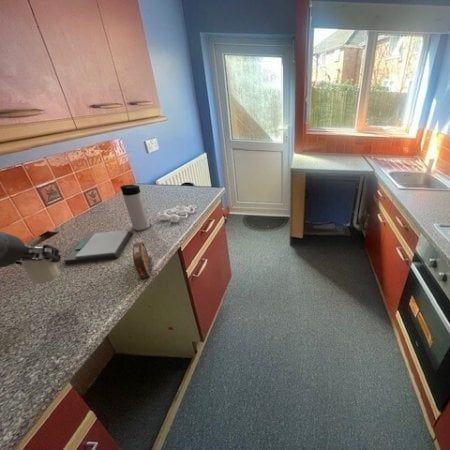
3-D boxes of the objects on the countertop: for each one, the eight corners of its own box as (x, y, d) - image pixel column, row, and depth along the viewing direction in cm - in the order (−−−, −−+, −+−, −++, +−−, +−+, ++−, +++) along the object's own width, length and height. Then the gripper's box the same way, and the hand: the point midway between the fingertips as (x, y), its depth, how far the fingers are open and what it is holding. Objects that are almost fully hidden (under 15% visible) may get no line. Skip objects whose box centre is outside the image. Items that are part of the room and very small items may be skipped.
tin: (150, 281, 80) (144, 259, 76) (139, 284, 78) (132, 262, 74) (149, 256, 91) (143, 237, 87) (139, 259, 90) (132, 239, 86)
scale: (66, 265, 85) (63, 259, 83) (89, 238, 100) (87, 232, 98) (117, 259, 89) (114, 253, 87) (132, 235, 104) (130, 229, 102)
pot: (27, 285, 65) (11, 260, 61) (40, 271, 70) (27, 247, 66) (53, 281, 66) (40, 257, 63) (64, 268, 71) (53, 245, 67)
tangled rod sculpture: (181, 207, 132) (179, 199, 131) (204, 209, 129) (203, 201, 127) (152, 221, 116) (150, 213, 114) (177, 224, 112) (175, 216, 110)
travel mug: (129, 230, 107) (115, 186, 97) (142, 224, 112) (130, 181, 103) (141, 233, 105) (127, 188, 96) (153, 226, 111) (142, 183, 101)
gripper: (30, 226, 55) (76, 244, 70) (-57, 233, 51) (12, 249, 67) (25, 260, 53) (74, 270, 68) (-66, 269, 49) (8, 278, 65)
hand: (43, 260), depth 67 cm, fingers closed on pot, 5 cm apart
